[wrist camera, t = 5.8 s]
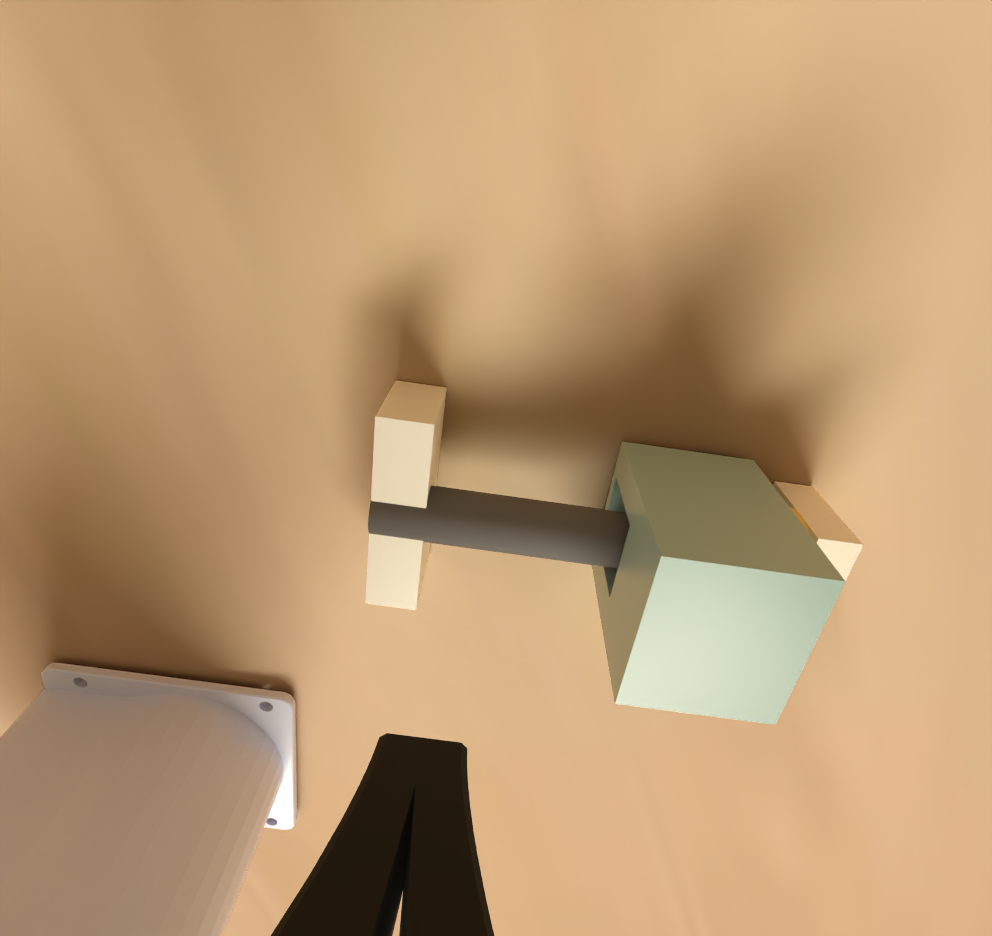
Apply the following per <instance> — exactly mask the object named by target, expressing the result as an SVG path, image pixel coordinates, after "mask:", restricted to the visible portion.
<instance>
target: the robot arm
mask: <svg viewBox="0 0 992 936" xmlns="http://www.w3.org/2000/svg"><path fill="white" fill-rule="evenodd" d="M41 678H42V682H43V685H44V690H43V691H42V692H41V693H40V694H39V695H38V696H37V697H36V698H35V700H34V701H33V702H32V703H31V704H30V705H29V706H28V707H27V708H26V710H25V711H24V712H23V713H22V714H21V715H20V716H19V717H18V718H17V720H16V721H15V722H14V723H13V724H12V725H11V726H10V727H9V728H8V730H7V731H6V732H5V733H4V734H3V735H2V736H1V737H0V936H223V933H224V931H225V928H226V925H227V923H228V920H229V918H230V915H231V912H232V910H233V907H234V905H235V902H236V899H237V897H238V894H239V892H240V889H241V886H242V884H243V881H244V879H245V876H246V874H247V871H248V868H249V866H250V863H251V861H252V858H253V855H254V853H255V850H256V848H257V845H258V842H259V840H260V837H261V835H262V832H263V829H264V827H266V828H274V829H282V830H287V829H291V828H292V827H294V825H295V822H296V819H297V774H296V710H295V700H294V698H293V697H292V696H291V695H290V694H288V693H285V692H281V691H273V690H265V689H257V688H250V687H242V686H234V685H227V684H219V683H211V682H203V681H196V680H188V679H180V678H173V677H165V676H157V675H149V674H142V673H134V672H126V671H118V670H111V669H103V668H95V667H88V666H80V665H72V664H64V663H51V664H49V665H48V666H47V667H46V668H45V669H44V670H43V671H42V673H41ZM267 702H269V703H267ZM402 892H403V899H402V911H401V923H400V935H399V936H494V933H493V929H492V924H491V920H490V915H489V911H488V906H487V902H486V897H485V892H484V887H483V882H482V877H481V871H480V866H479V861H478V856H477V850H476V844H475V838H474V832H473V825H472V817H471V810H470V801H469V791H468V778H467V748H466V747H465V746H464V745H463V744H462V743H459V742H451V741H443V740H435V739H427V738H419V737H412V736H404V735H396V734H388V733H387V734H385V735H383V736H381V737H379V740H378V743H377V746H376V748H375V751H374V754H373V756H372V758H371V761H370V763H369V765H368V768H367V770H366V772H365V774H364V776H363V779H362V781H361V783H360V785H359V787H358V789H357V791H356V793H355V795H354V797H353V799H352V801H351V803H350V805H349V806H348V808H347V810H346V812H345V814H344V816H343V818H342V820H341V822H340V823H339V825H338V827H337V829H336V830H335V832H334V834H333V835H332V837H331V839H330V841H329V842H328V844H327V846H326V848H325V849H324V851H323V853H322V855H321V856H320V858H319V860H318V862H317V863H316V865H315V867H314V869H313V870H312V872H311V873H310V875H309V877H308V878H307V880H306V882H305V883H304V885H303V886H302V888H301V889H300V891H299V893H298V894H297V896H296V897H295V899H294V900H293V902H292V903H291V905H290V907H289V908H288V910H287V911H286V913H285V914H284V916H283V918H282V919H281V921H280V922H279V924H278V925H277V927H276V928H275V930H274V932H273V933H272V935H271V936H392V934H393V930H394V926H395V921H396V917H397V913H398V909H399V905H400V900H401V896H402Z"/></svg>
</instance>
